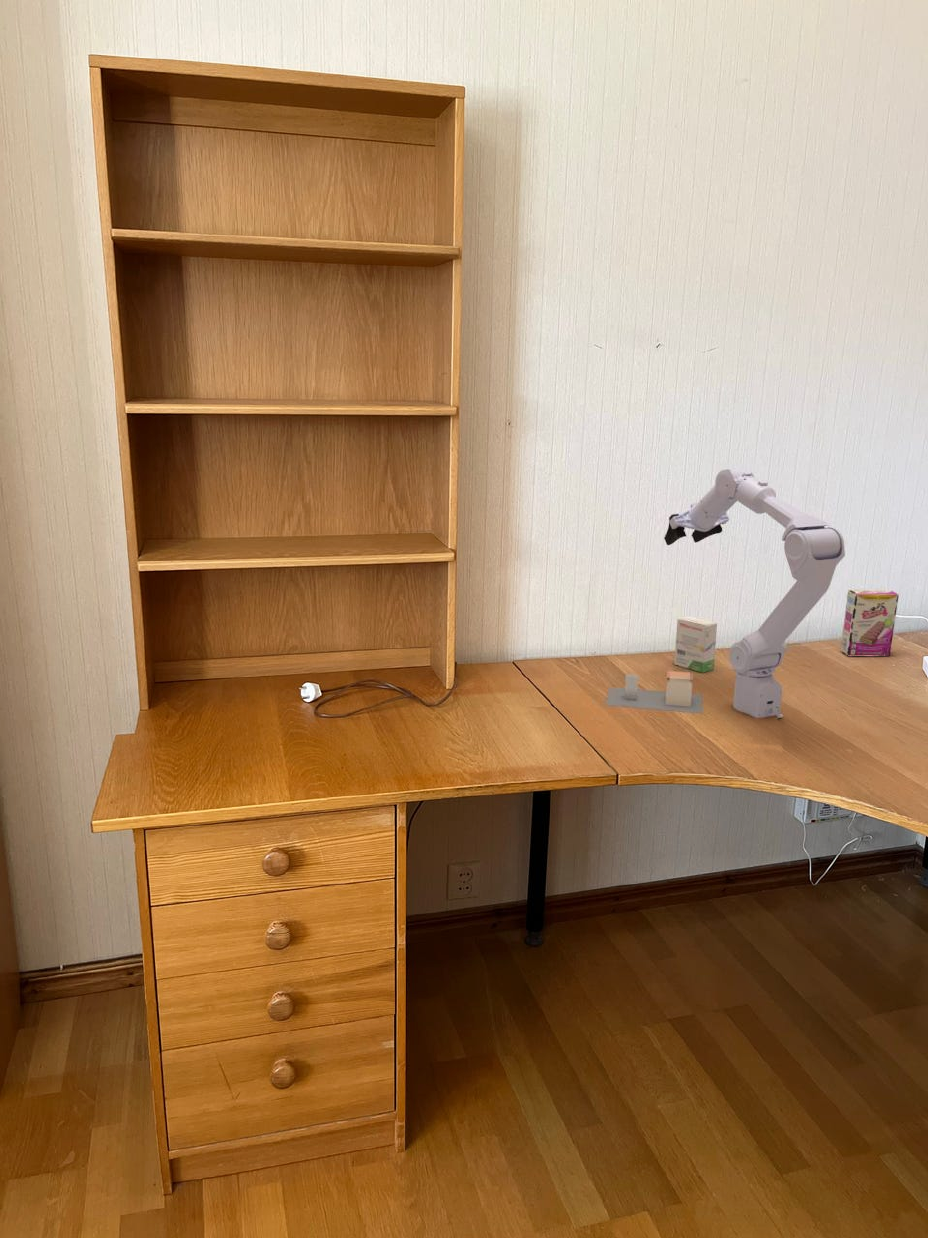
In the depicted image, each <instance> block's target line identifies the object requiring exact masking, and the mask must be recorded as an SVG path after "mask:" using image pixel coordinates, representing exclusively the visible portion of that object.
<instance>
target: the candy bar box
mask: <svg viewBox="0 0 928 1238" xmlns="http://www.w3.org/2000/svg"><path fill="white" fill-rule="evenodd" d="M899 595H900V594H899V593H897V592H894V590H890V589H848V590H847V598H846V604H845V611H844V620H843V628H842V636H841V642H840V649H841V650H842V651H844V652H845V653H846V654H847V655H884V654H885V655H890V656H891V650H892V642H893V636H894V631H895V621H896V617H897V616H896V615H897V610H898V603H899V598H900V597H899Z"/></svg>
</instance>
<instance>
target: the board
mask: <svg viewBox="0 0 928 1238" xmlns="http://www.w3.org/2000/svg"><path fill="white" fill-rule="evenodd" d="M608 688H609V689H608V693H607V697H606V701H605V706H610V707H619V708H620V707H622V708H634V709H635V708H636V709H645V710H646V709H647V710H656V711H657V710H658V711H670V712H679V713H680V712H681V713H692V714H703V695H702V694H701V693H692V695H691V707H688V706H676V705H665V704H666V690H664V691H663V690H651V689H639V688H638V692H637V700H629V699H624V697H625V687H614V686H609V687H608Z"/></svg>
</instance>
